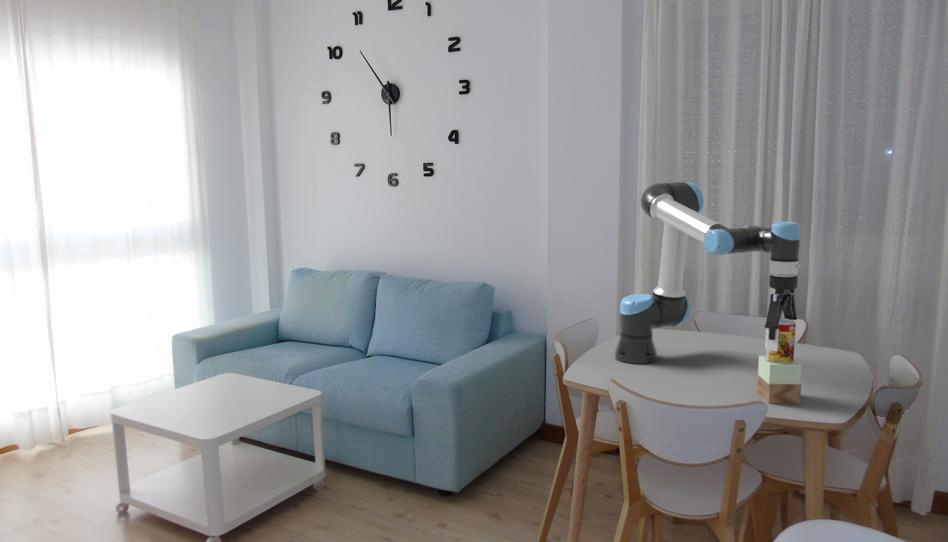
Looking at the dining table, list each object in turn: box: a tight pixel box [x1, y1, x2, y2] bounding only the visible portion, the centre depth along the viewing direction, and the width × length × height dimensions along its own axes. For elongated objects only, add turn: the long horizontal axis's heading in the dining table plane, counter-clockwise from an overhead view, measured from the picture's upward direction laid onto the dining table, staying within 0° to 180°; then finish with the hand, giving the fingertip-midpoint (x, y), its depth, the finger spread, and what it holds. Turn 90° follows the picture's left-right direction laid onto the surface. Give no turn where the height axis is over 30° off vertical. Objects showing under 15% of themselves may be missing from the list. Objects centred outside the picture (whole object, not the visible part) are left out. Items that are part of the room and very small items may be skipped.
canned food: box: [764, 317, 797, 364], centre depth 192 cm, size 8×8×12 cm
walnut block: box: [757, 374, 802, 405], centre depth 194 cm, size 9×9×6 cm
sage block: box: [757, 355, 803, 385], centre depth 194 cm, size 9×9×6 cm
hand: (779, 345), depth 192 cm, fingers open, 12 cm apart
